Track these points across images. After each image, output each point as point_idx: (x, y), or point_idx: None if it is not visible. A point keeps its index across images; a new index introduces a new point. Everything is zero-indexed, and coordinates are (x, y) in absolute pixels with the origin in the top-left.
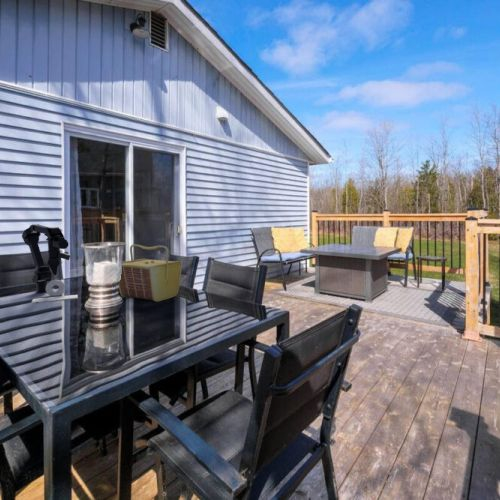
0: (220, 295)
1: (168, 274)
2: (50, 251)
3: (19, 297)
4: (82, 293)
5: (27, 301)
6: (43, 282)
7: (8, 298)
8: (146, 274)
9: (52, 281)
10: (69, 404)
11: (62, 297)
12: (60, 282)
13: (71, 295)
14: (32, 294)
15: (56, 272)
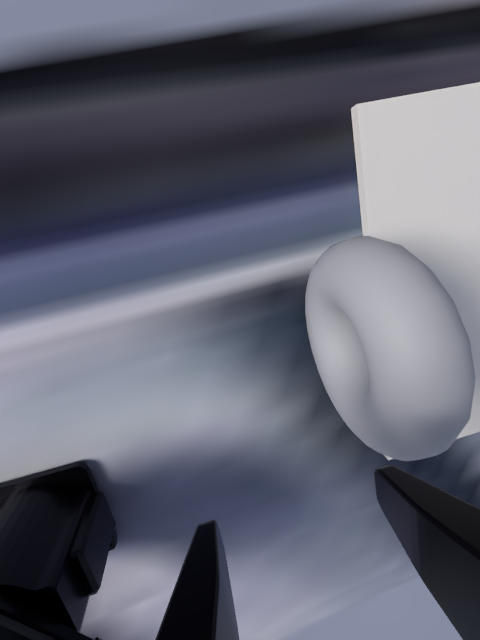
0: None
1: None
2: None
3: (256, 579)
4: (246, 63)
5: (414, 472)
6: (58, 595)
7: (267, 627)
8: None
9: (469, 411)
10: None
11: (431, 239)
12: (449, 297)
13: (377, 166)
14: (162, 544)
15: (460, 502)
